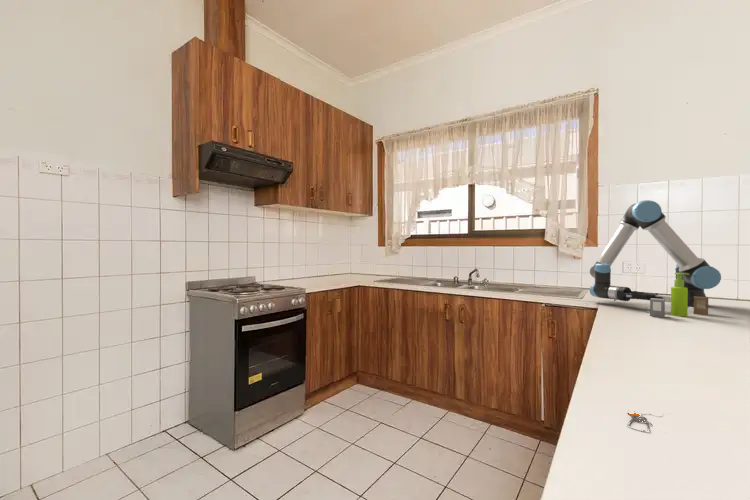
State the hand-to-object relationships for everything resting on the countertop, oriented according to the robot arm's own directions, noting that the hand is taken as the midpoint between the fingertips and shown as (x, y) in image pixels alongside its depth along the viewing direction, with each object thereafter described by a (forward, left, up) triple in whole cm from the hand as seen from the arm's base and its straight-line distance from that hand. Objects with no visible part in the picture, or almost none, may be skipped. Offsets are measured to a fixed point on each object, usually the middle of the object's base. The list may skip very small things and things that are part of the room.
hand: (671, 299), depth 166 cm
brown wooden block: (-13, +5, -7) cm, 16 cm away
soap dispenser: (0, +3, -7) cm, 8 cm away
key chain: (+122, +57, -8) cm, 135 cm away
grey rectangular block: (+12, 0, -7) cm, 14 cm away
